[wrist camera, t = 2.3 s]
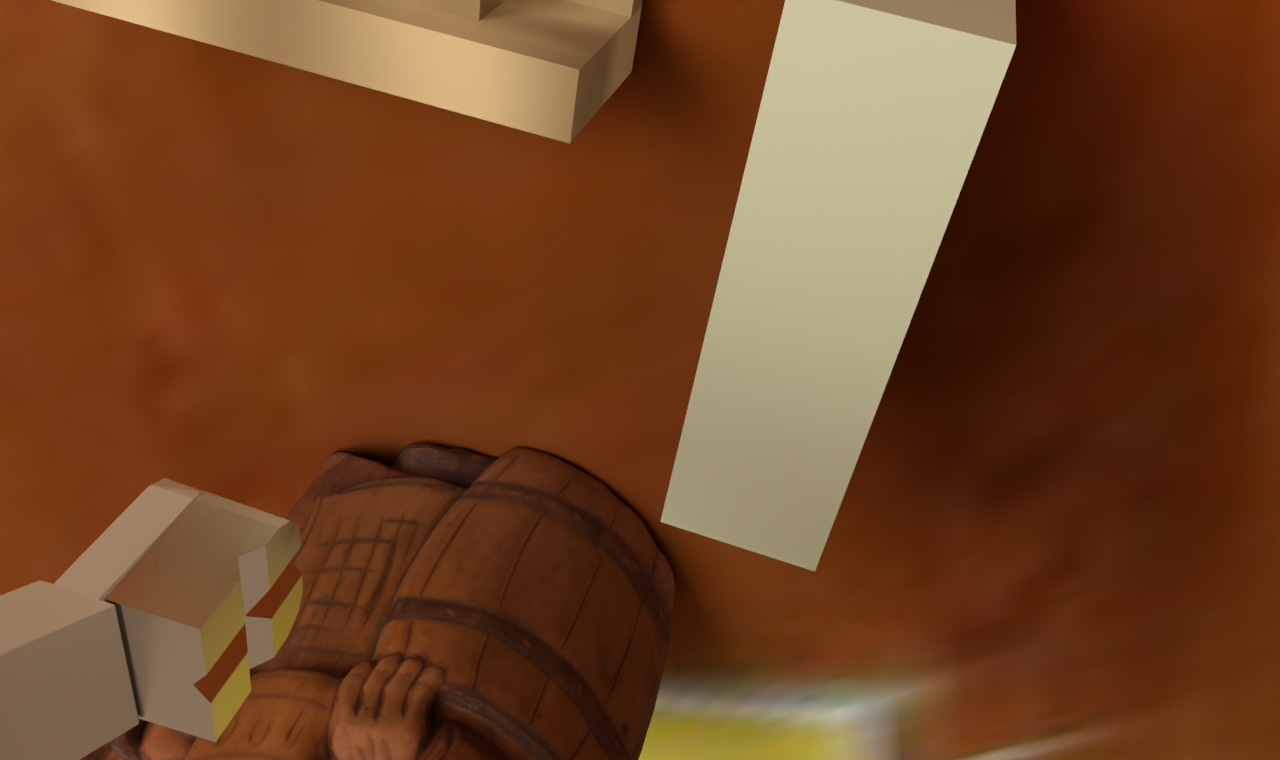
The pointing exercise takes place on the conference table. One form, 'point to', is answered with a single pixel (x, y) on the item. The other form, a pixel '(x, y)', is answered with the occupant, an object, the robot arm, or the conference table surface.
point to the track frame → (429, 48)
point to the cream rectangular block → (830, 257)
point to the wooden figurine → (454, 620)
